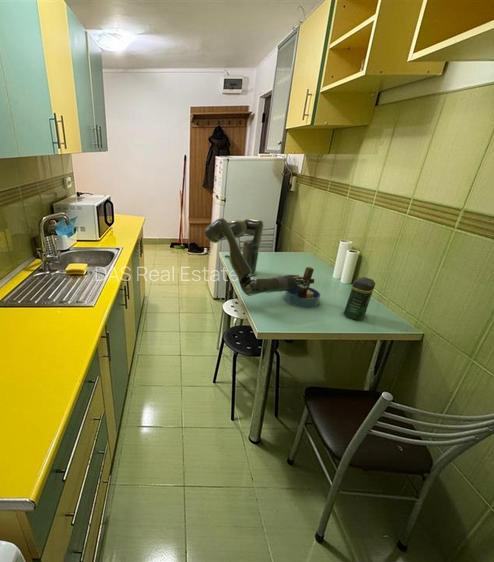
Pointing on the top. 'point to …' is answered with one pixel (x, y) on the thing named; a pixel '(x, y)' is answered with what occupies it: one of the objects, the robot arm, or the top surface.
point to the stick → (306, 276)
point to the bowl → (303, 302)
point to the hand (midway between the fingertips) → (311, 279)
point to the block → (309, 294)
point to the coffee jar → (359, 298)
